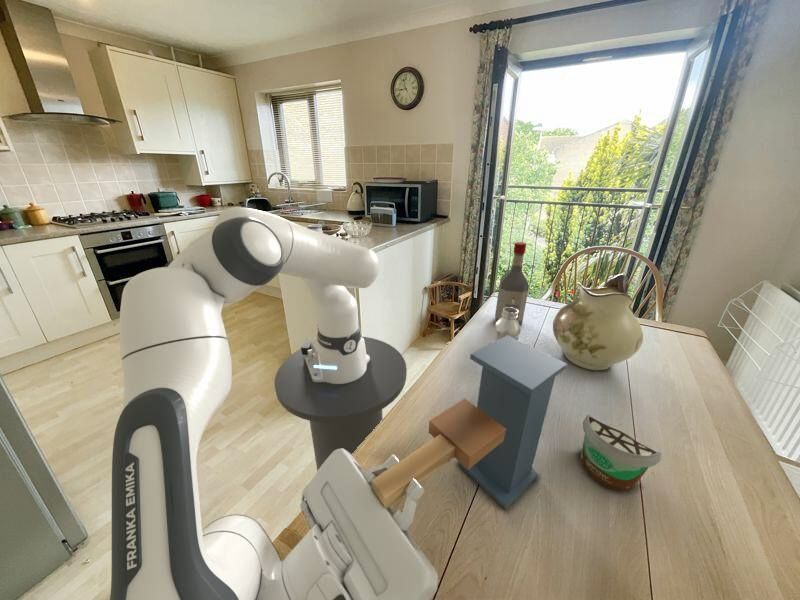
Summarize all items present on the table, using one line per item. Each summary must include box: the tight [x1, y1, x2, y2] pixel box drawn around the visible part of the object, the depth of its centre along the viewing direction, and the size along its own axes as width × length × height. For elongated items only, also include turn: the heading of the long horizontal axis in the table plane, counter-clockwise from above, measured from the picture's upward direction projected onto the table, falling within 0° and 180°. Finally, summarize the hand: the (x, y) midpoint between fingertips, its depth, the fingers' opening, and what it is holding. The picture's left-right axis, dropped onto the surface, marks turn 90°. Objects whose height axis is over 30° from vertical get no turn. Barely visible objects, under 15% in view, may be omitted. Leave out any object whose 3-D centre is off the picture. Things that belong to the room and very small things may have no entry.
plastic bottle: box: [493, 307, 521, 342], centre depth 83 cm, size 6×7×20 cm
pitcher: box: [552, 273, 644, 371], centre depth 90 cm, size 22×24×25 cm
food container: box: [580, 412, 663, 492], centre depth 57 cm, size 12×6×10 cm, turn 40°
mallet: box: [372, 398, 506, 509], centre depth 43 cm, size 8×20×2 cm, turn 128°
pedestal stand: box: [457, 335, 568, 510], centre depth 55 cm, size 11×10×26 cm
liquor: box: [494, 241, 530, 328], centre depth 109 cm, size 9×9×30 cm
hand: (408, 471), depth 40 cm, fingers closed on mallet, 3 cm apart
